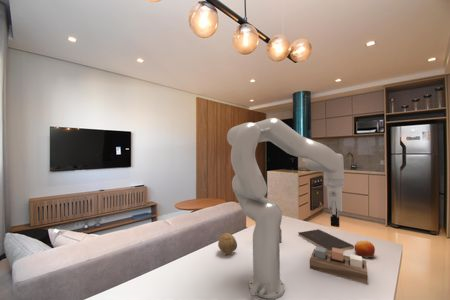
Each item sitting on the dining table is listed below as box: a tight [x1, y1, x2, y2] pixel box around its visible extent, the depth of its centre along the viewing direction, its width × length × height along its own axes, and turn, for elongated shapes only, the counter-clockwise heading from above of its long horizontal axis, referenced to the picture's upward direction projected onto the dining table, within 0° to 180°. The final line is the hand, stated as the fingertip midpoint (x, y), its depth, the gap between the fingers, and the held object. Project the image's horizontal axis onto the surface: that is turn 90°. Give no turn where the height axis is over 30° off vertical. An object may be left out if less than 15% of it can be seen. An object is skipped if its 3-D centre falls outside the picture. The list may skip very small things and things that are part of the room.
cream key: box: [349, 253, 363, 269], centre depth 81 cm, size 4×4×3 cm
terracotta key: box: [332, 247, 344, 261], centre depth 85 cm, size 4×4×3 cm
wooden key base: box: [309, 248, 369, 285], centre depth 84 cm, size 12×20×4 cm, turn 57°
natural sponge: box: [217, 232, 238, 256], centre depth 97 cm, size 9×9×10 cm
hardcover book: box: [297, 228, 355, 252], centre depth 111 cm, size 16×23×2 cm
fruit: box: [353, 240, 376, 259], centre depth 95 cm, size 8×8×8 cm
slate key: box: [314, 246, 326, 259], centre depth 88 cm, size 4×4×3 cm
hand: (335, 225), depth 85 cm, fingers closed
